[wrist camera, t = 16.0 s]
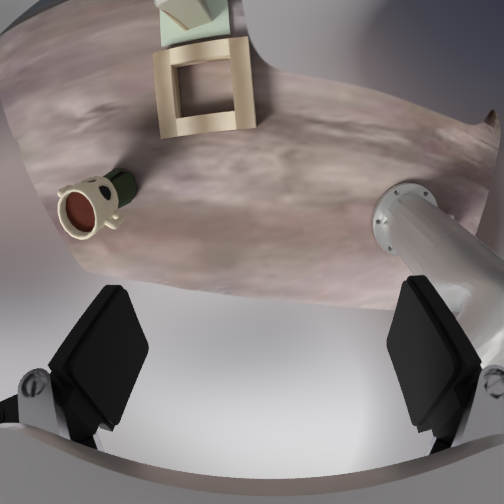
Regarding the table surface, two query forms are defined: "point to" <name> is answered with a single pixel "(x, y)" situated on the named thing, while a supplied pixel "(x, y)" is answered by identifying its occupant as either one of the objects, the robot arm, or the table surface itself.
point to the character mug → (95, 203)
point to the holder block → (196, 54)
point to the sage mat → (217, 27)
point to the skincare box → (186, 12)
